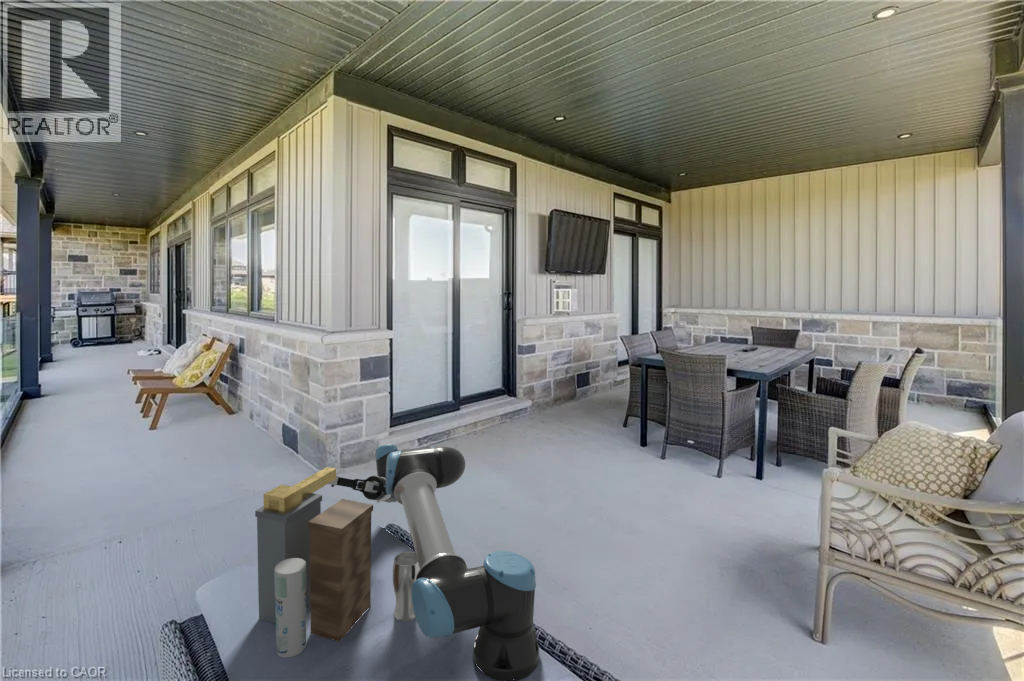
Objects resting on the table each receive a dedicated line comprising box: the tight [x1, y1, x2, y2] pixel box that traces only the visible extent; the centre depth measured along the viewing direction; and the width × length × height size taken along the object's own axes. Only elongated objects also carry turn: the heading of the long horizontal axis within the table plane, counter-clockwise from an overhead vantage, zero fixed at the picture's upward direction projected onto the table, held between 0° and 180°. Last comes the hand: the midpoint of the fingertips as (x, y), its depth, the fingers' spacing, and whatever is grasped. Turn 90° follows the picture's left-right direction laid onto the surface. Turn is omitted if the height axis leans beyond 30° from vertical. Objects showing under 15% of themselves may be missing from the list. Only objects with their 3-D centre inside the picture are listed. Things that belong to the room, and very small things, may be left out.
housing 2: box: [308, 498, 374, 642], centre depth 122 cm, size 13×9×28 cm
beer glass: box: [392, 551, 420, 622], centre depth 126 cm, size 7×7×15 cm
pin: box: [262, 466, 337, 514], centre depth 130 cm, size 22×6×4 cm, turn 164°
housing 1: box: [254, 492, 323, 625], centre depth 126 cm, size 13×9×28 cm
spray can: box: [274, 558, 307, 658], centre depth 113 cm, size 6×6×20 cm
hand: (345, 482), depth 145 cm, fingers open, 13 cm apart
